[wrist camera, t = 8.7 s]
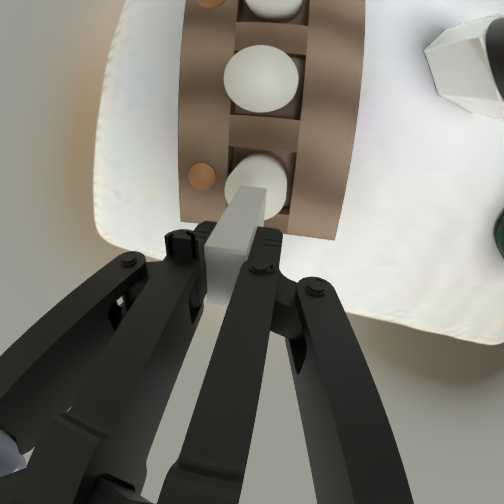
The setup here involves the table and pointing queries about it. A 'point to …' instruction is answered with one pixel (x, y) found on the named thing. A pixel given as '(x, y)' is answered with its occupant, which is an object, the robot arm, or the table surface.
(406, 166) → the table surface
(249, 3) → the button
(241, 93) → the button middle
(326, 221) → the button board
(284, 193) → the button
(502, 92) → the jar
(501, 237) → the coffee jar
